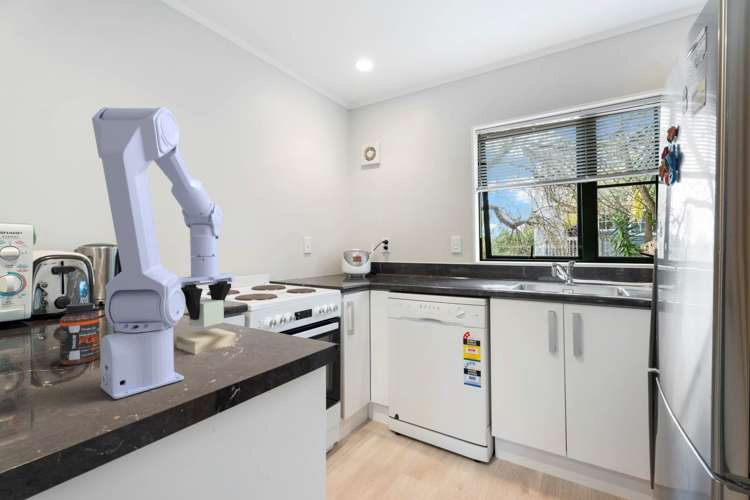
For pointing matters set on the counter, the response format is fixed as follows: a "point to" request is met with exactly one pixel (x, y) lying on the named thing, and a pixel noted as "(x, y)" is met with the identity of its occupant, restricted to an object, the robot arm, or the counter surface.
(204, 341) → the maple slab
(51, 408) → the counter surface
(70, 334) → the supplement bottle
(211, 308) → the sage cube
